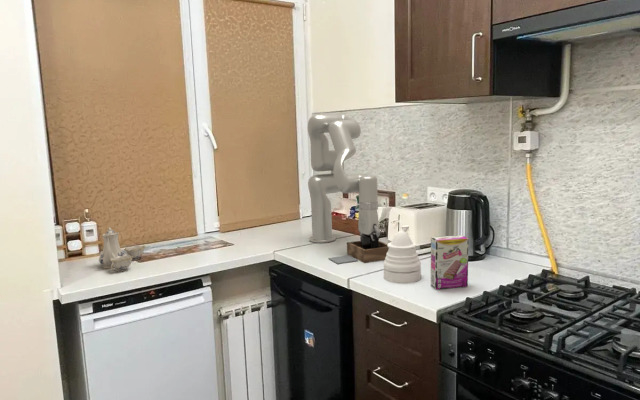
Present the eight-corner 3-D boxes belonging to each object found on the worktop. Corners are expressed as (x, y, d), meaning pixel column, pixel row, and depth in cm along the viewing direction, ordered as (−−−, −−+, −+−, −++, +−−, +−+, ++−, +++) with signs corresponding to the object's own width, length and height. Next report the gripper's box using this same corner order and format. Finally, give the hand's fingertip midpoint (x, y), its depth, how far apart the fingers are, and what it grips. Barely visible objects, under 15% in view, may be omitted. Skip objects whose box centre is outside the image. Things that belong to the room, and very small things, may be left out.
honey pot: (400, 270, 179) (400, 222, 177) (428, 277, 169) (428, 226, 167) (376, 277, 171) (374, 227, 169) (403, 285, 161) (402, 232, 159)
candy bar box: (436, 290, 155) (435, 240, 153) (430, 285, 160) (429, 237, 158) (469, 287, 157) (469, 237, 155) (462, 282, 162) (462, 234, 160)
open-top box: (347, 254, 205) (346, 242, 204) (374, 250, 210) (374, 238, 209) (364, 262, 190) (364, 250, 190) (393, 258, 195) (393, 246, 195)
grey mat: (328, 259, 198) (328, 257, 198) (348, 256, 202) (348, 255, 202) (337, 264, 190) (337, 263, 190) (358, 261, 193) (358, 260, 193)
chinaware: (133, 277, 190) (134, 235, 188) (88, 276, 187) (88, 234, 185) (146, 259, 217) (147, 222, 215) (107, 258, 214) (107, 221, 212)
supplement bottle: (377, 258, 196) (376, 229, 195) (360, 258, 198) (359, 229, 196) (378, 254, 203) (378, 226, 201) (362, 254, 204) (361, 226, 203)
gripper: (350, 204, 204) (352, 244, 206) (370, 209, 188) (371, 253, 190) (366, 202, 207) (367, 242, 209) (387, 208, 191) (388, 251, 193)
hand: (369, 247), depth 200 cm, fingers open, 8 cm apart
